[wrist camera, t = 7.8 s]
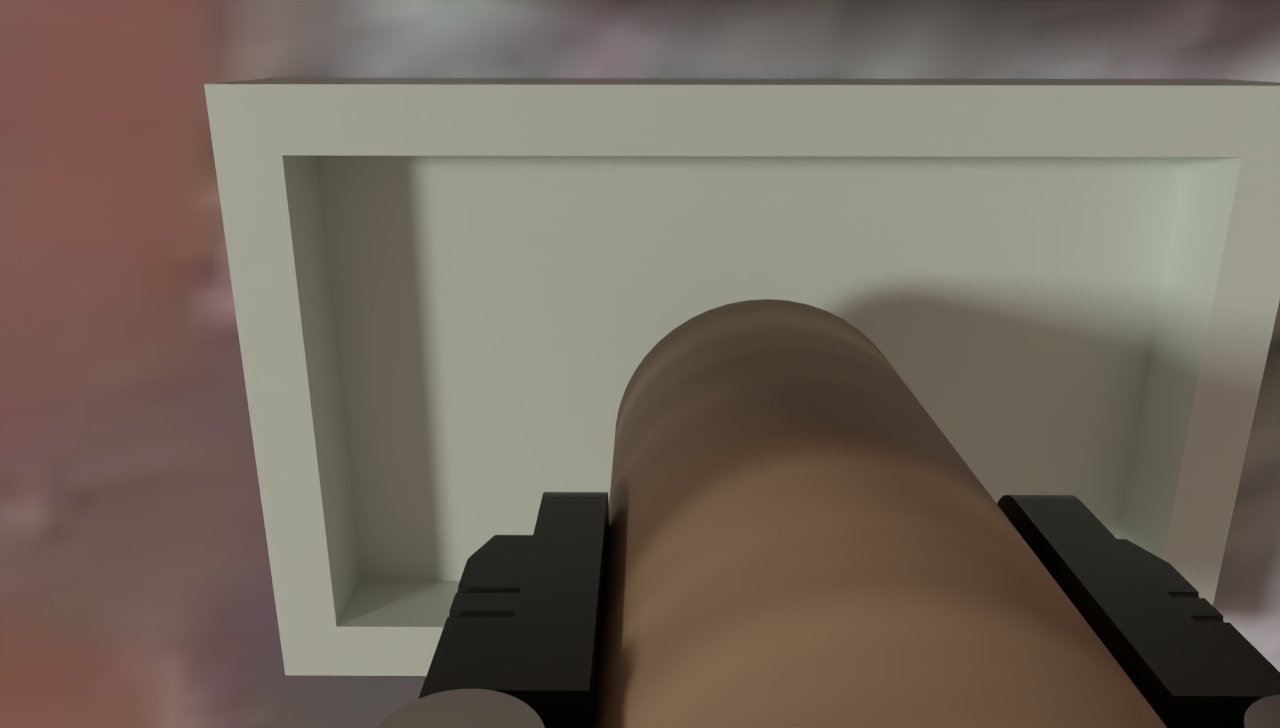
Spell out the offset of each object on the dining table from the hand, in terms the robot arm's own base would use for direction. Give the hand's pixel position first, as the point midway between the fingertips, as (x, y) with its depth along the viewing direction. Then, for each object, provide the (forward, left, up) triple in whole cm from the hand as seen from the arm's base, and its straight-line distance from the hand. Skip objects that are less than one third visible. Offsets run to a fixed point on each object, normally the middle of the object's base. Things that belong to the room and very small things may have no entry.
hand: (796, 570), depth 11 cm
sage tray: (0, 0, -7) cm, 7 cm away
